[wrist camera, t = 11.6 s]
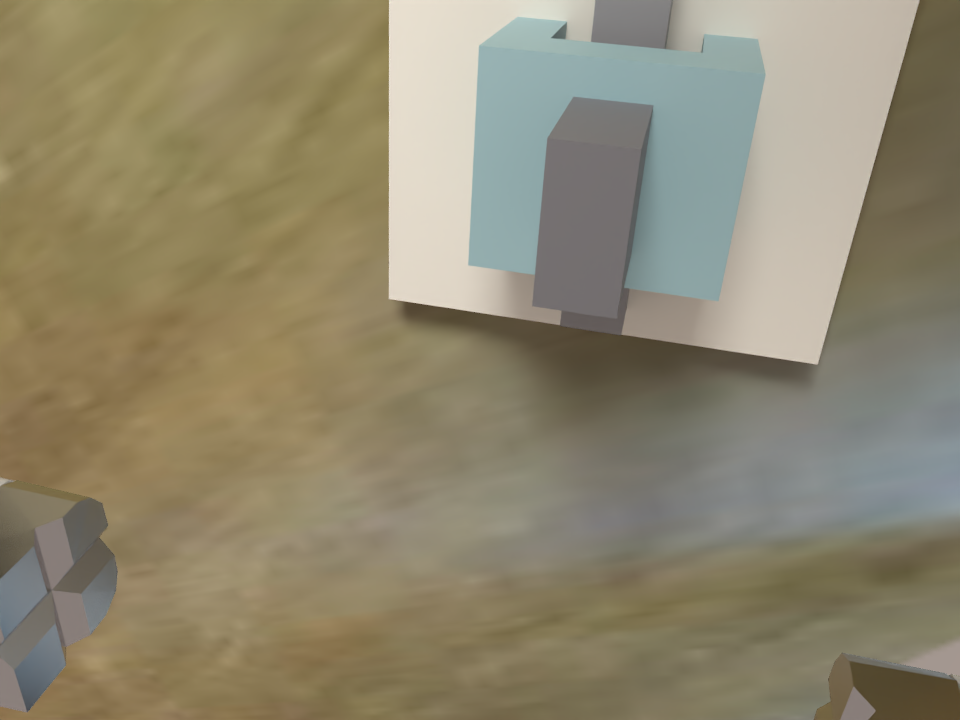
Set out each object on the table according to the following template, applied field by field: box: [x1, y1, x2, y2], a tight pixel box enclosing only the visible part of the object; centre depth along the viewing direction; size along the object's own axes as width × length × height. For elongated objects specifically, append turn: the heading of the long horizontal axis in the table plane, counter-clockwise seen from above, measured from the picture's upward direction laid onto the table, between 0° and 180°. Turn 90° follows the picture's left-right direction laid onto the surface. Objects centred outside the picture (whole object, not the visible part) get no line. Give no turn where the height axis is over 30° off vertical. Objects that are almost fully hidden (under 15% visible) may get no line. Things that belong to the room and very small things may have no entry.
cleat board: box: [389, 0, 919, 365], centre depth 27 cm, size 14×15×4 cm
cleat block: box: [468, 17, 766, 319], centre depth 24 cm, size 6×7×9 cm
